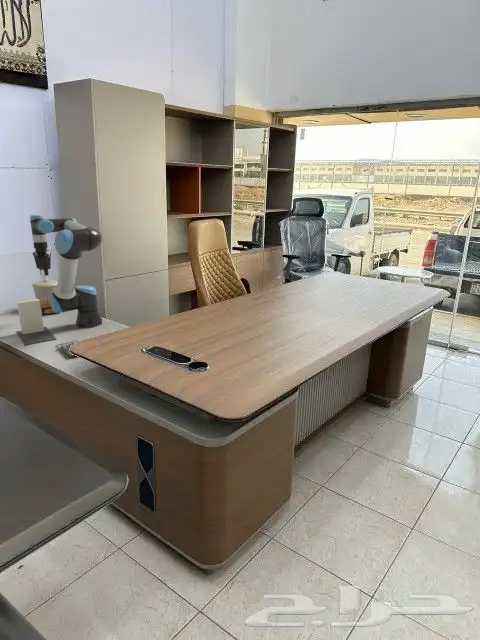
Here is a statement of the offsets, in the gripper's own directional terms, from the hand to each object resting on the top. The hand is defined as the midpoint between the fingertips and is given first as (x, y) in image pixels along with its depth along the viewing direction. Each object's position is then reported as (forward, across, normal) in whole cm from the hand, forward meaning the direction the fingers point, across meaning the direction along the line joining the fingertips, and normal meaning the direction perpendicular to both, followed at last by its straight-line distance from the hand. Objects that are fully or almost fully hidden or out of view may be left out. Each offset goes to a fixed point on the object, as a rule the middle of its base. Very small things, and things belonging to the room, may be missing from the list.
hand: (45, 280), depth 267 cm
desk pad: (+24, -19, +28) cm, 41 cm away
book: (+24, -12, +24) cm, 36 cm away
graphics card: (+25, -55, +38) cm, 71 cm away
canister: (+25, +21, -19) cm, 38 cm away
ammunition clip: (+25, +7, -7) cm, 27 cm away
